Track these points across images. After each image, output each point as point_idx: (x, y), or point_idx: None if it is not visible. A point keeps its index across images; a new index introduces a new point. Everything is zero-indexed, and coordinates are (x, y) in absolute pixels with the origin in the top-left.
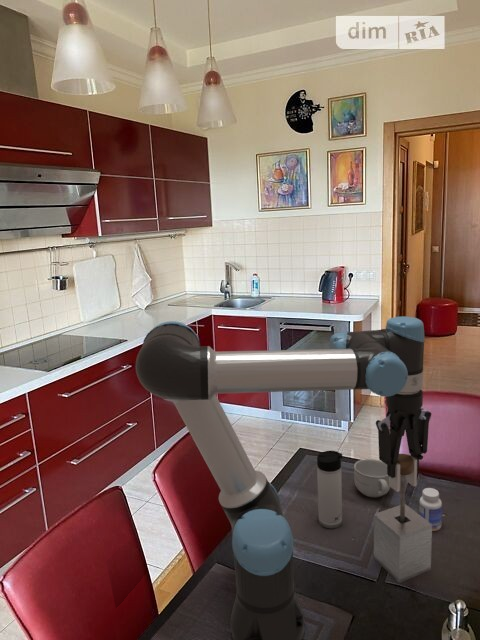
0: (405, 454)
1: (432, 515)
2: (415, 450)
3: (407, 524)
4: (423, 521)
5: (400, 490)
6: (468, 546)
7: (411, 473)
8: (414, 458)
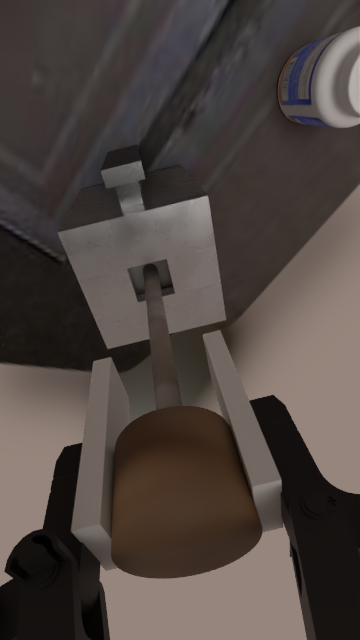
0: (240, 513)
1: (316, 123)
2: (305, 627)
3: None
4: (211, 303)
5: (151, 348)
6: (326, 205)
7: (224, 416)
8: (275, 520)
